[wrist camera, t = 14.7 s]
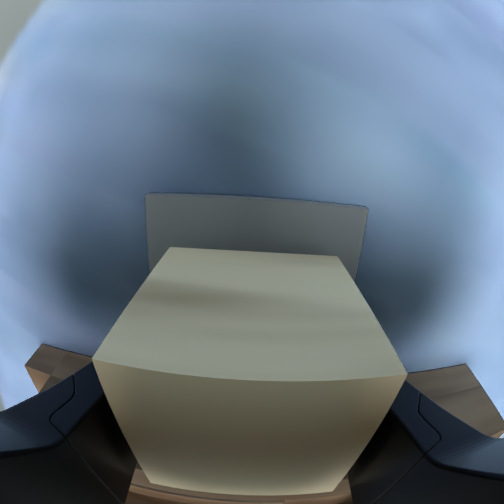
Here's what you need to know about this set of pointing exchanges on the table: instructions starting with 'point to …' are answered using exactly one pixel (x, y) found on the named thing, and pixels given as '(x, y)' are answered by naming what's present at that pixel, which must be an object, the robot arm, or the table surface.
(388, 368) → the beech block
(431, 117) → the table surface
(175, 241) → the slate mat
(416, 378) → the puzzle board
